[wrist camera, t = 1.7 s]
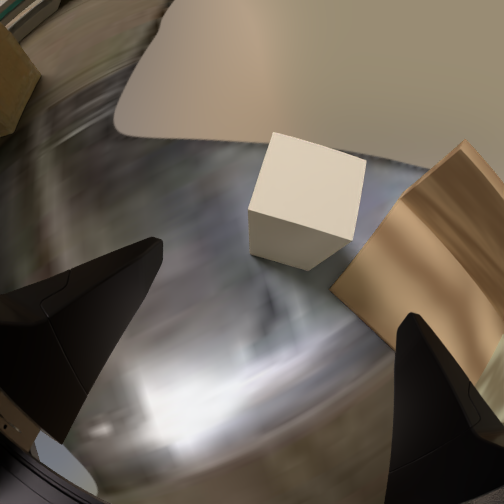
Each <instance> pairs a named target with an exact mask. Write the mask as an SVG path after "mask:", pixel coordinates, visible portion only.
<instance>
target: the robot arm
mask: <svg viewBox="0 0 504 504" xmlns="http://www.w3.org/2000/svg"><path fill="white" fill-rule="evenodd" d="M162 261H163V241H162V240H161V239H159V238H155V237H149V238H147V239H144V240H141V241H139V242H136V243H134V244H131V245H128V246H126V247H123V248H121V249H118V250H116V251H113V252H111V253H108V254H106V255H103V256H101V257H98V258H96V259H93V260H91V261H89V262H86V263H84V264H81V265H79V266H77V267H74V268H72V269H71V270H67V271H65V272H62V273H60V274H58V275H55V276H53V277H50V278H48V279H45V280H42V281H40V282H37V283H34V284H31V285H28V286H26V287H23V288H20V289H17V290H14V291H12V292H9V293H6V294H1V295H0V504H110V503H108V502H106V501H104V500H102V499H100V498H98V497H96V496H94V495H93V494H91V493H89V492H87V491H85V490H84V489H82V488H80V487H78V486H77V485H75V484H73V483H72V482H70V481H68V480H67V479H65V478H64V477H62V476H61V475H59V474H57V473H56V472H55V471H53V470H52V469H50V468H49V467H47V466H46V465H45V464H43V463H41V462H40V460H39V456H38V453H37V450H36V446H35V442H34V441H35V439H36V437H37V435H38V433H39V432H40V430H41V431H42V432H44V433H45V434H46V435H48V436H49V437H51V438H52V439H54V440H55V441H57V442H58V443H60V444H61V445H62V444H63V442H64V440H65V438H66V436H67V434H68V432H69V430H70V428H71V426H72V424H73V422H74V421H75V419H76V417H77V415H78V413H79V411H80V409H81V407H82V405H83V403H84V401H85V400H86V398H87V395H88V394H89V392H90V390H91V388H92V386H93V385H94V383H95V381H96V379H97V377H98V376H99V374H100V372H101V370H102V369H103V367H104V365H105V363H106V362H107V360H108V358H109V356H110V355H111V353H112V351H113V350H114V348H115V346H116V345H117V343H118V341H119V340H120V338H121V336H122V335H123V333H124V331H125V330H126V328H127V326H128V325H129V323H130V321H131V320H132V318H133V317H134V315H135V313H136V312H137V310H138V309H139V307H140V305H141V304H142V302H143V300H144V299H145V297H146V295H147V293H148V291H149V289H150V287H151V285H152V283H153V281H154V278H155V276H156V274H157V272H158V270H159V268H160V266H161V264H162ZM469 380H470V379H469V378H468V376H467V375H466V374H465V372H464V371H463V369H462V368H461V367H460V365H459V364H458V363H457V361H456V360H455V358H454V357H453V356H452V354H451V353H450V352H449V351H448V349H447V348H446V347H445V345H444V344H443V343H442V341H441V340H440V339H439V338H438V336H437V335H436V334H435V332H434V331H433V330H432V329H431V327H430V326H429V325H428V324H427V322H426V321H425V320H424V319H423V318H422V316H421V315H420V314H417V313H413V312H410V313H408V314H407V316H406V317H405V319H404V320H403V321H402V323H401V324H400V325H399V327H398V329H397V333H396V350H395V364H394V416H393V434H392V448H391V458H390V467H389V472H390V473H389V475H388V482H387V489H386V496H385V502H384V504H504V425H503V424H502V423H501V421H500V420H499V419H498V417H497V416H496V415H495V413H494V412H493V411H492V409H491V408H490V407H489V405H488V404H487V403H486V401H485V400H484V399H483V397H482V396H481V395H480V393H479V392H478V390H477V389H476V388H475V386H474V385H473V383H472V382H471V381H469Z"/></svg>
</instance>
